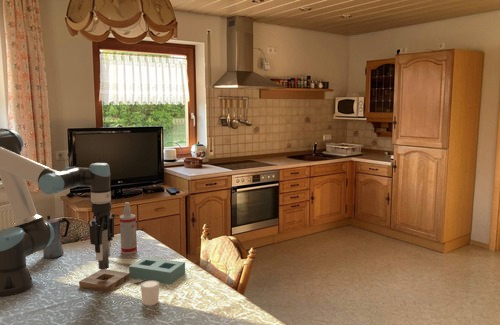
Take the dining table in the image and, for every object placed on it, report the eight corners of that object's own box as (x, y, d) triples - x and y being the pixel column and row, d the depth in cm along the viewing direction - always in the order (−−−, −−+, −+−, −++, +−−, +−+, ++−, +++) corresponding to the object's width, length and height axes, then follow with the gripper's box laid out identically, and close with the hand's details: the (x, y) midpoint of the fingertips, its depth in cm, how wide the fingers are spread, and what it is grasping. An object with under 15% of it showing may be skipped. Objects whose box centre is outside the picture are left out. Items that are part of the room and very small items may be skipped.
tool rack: (170, 284, 172) (170, 272, 171) (129, 277, 179) (129, 266, 178) (185, 273, 183) (184, 262, 182) (145, 267, 190) (145, 256, 189)
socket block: (108, 292, 164) (107, 286, 164) (79, 287, 169) (79, 281, 169) (130, 278, 177) (129, 273, 177) (102, 274, 182) (102, 268, 182)
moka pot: (37, 254, 206) (34, 214, 204) (71, 250, 213) (68, 211, 210) (36, 261, 198) (33, 219, 195) (71, 256, 204) (69, 215, 202)
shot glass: (152, 295, 161) (151, 278, 160) (163, 301, 157) (163, 283, 156) (137, 302, 156) (136, 284, 155) (148, 307, 152) (148, 289, 151)
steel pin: (104, 270, 170) (103, 231, 168) (96, 268, 171) (94, 230, 169) (110, 266, 174) (109, 228, 171) (103, 265, 175) (101, 227, 173)
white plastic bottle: (121, 249, 213) (119, 201, 210) (136, 248, 215) (134, 200, 212) (121, 254, 206) (119, 204, 202) (137, 253, 208) (135, 203, 205)
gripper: (94, 207, 159) (96, 266, 163) (122, 198, 175) (124, 252, 178) (78, 205, 162) (80, 263, 165) (107, 196, 178) (109, 250, 181)
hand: (103, 257), depth 172 cm, fingers closed on steel pin, 4 cm apart
